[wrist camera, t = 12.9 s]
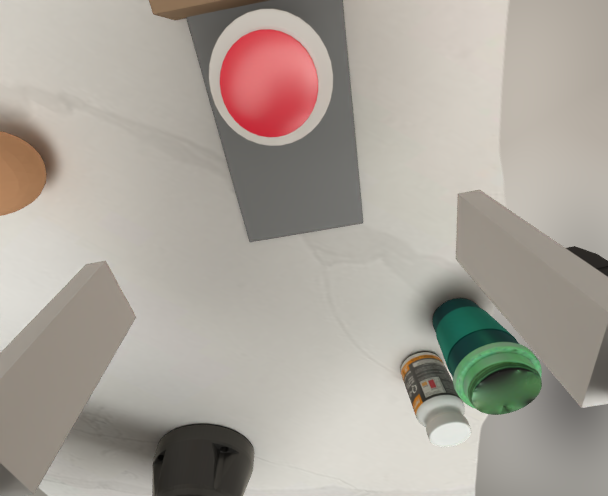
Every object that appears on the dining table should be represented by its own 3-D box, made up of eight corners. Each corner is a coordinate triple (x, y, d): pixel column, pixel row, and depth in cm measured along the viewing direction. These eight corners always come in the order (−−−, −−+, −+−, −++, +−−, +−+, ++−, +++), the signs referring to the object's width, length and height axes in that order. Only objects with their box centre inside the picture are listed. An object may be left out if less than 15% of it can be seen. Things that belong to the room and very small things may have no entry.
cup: (420, 339, 45) (460, 426, 34) (419, 289, 41) (463, 370, 30) (484, 328, 44) (544, 414, 34) (489, 277, 40) (558, 355, 30)
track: (240, 241, 37) (234, 267, 33) (165, -12, 26) (141, -24, 22) (372, 219, 36) (383, 243, 32) (350, -50, 25) (363, -71, 21)
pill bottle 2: (394, 358, 46) (418, 428, 38) (436, 344, 45) (470, 413, 37) (406, 384, 49) (431, 455, 40) (446, 371, 48) (480, 441, 39)
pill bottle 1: (341, 80, 29) (366, 95, 20) (273, 142, 32) (266, 181, 22) (278, -6, 26) (272, -39, 17) (209, 69, 29) (168, 78, 19)
